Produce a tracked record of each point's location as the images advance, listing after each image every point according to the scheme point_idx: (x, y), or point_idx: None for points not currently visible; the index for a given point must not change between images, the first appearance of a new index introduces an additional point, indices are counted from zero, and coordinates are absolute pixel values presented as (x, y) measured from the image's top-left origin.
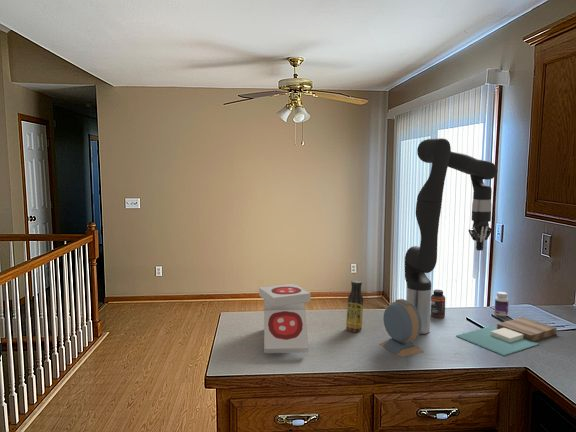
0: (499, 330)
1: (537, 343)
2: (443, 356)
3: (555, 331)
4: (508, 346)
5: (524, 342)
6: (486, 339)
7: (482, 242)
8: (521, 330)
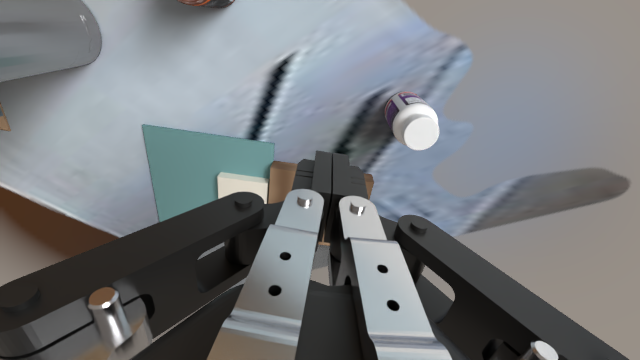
0: (240, 185)
1: None
2: (43, 166)
3: None
4: None
5: None
6: (191, 178)
7: (325, 240)
8: None
